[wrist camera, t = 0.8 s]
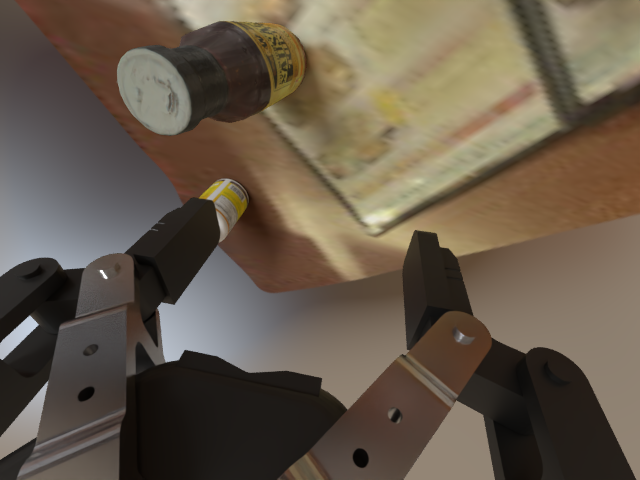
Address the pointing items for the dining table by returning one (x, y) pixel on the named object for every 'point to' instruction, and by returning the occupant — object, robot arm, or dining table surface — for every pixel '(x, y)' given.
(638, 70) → the dining table surface
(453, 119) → the dining table surface
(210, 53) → the sauce bottle
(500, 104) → the dining table surface
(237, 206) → the supplement bottle
